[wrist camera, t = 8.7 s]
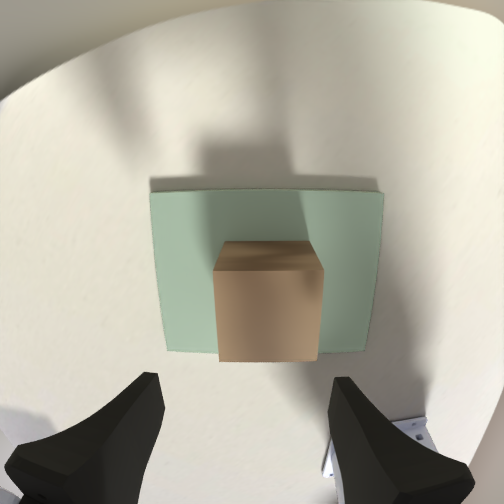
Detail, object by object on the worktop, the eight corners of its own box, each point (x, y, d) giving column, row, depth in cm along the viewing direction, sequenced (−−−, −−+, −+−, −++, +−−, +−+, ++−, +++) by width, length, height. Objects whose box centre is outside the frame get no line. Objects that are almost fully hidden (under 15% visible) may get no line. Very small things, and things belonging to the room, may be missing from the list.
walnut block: (309, 240, 19) (324, 270, 14) (305, 315, 21) (316, 361, 16) (224, 241, 19) (212, 270, 15) (228, 316, 21) (219, 361, 16)
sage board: (379, 191, 19) (384, 193, 18) (361, 344, 22) (364, 350, 21) (153, 191, 19) (149, 193, 19) (169, 344, 23) (167, 351, 22)
